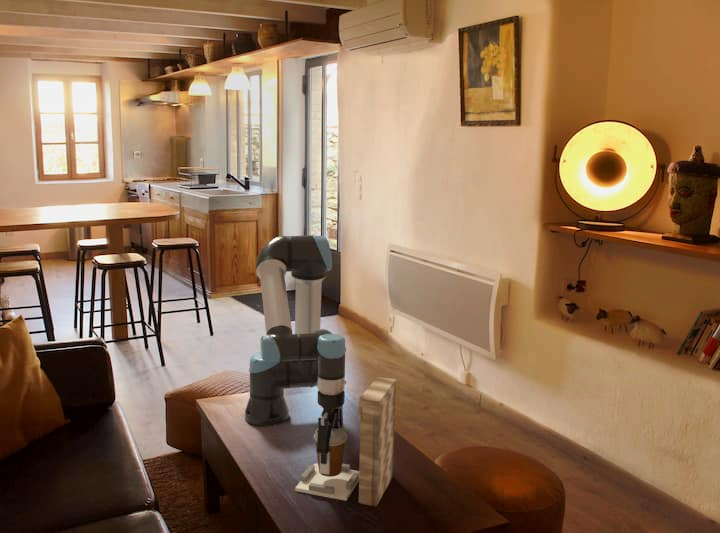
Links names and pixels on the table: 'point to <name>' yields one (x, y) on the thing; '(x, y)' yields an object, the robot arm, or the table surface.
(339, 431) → the disposable coffee cup
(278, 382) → the robot arm
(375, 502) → the upright plywood slab
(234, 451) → the table surface
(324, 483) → the seat plate
